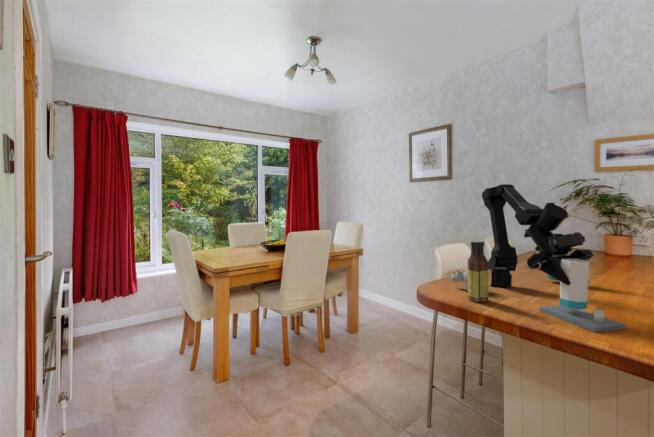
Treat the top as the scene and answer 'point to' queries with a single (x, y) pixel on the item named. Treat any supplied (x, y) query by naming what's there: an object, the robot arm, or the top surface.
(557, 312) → the pin plate
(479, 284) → the sauce bottle
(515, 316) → the top surface
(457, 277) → the chubby cartoon animal
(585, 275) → the vase
